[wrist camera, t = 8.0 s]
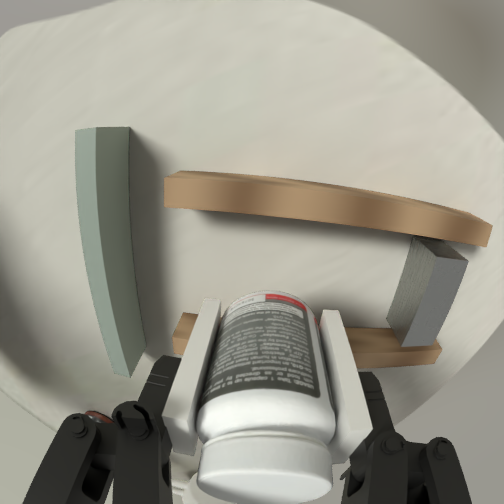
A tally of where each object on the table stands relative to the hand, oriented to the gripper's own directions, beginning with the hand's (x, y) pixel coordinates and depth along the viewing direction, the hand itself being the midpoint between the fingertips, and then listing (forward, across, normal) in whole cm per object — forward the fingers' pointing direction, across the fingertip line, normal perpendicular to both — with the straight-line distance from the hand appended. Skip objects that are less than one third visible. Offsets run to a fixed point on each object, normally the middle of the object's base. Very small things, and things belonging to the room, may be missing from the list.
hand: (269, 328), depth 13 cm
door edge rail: (+6, -11, 0) cm, 12 cm away
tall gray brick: (+6, +11, 0) cm, 13 cm away
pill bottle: (+1, 0, 0) cm, 1 cm away
